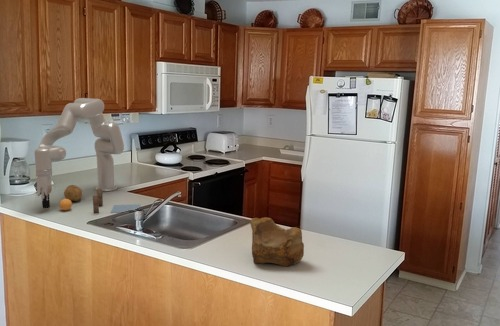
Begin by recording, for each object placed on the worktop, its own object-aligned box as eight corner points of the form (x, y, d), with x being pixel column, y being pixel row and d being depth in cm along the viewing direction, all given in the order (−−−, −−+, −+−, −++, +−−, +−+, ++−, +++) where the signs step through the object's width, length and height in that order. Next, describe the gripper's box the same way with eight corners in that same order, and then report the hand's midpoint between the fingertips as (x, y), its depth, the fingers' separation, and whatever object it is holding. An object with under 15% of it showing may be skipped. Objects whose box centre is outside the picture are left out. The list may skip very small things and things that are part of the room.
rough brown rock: (232, 261, 180) (231, 225, 176) (257, 246, 193) (257, 212, 189) (283, 279, 167) (283, 241, 163) (306, 261, 179) (307, 225, 175)
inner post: (98, 205, 250) (97, 188, 249) (103, 205, 251) (102, 188, 249) (97, 206, 248) (96, 190, 246) (102, 206, 248) (101, 190, 247)
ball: (61, 208, 243) (60, 197, 242) (73, 208, 244) (72, 197, 243) (58, 212, 237) (57, 200, 236) (70, 211, 238) (70, 200, 237)
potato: (65, 204, 251) (64, 190, 249) (63, 198, 263) (62, 184, 261) (84, 202, 255) (84, 188, 253) (81, 196, 267) (80, 183, 266)
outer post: (94, 212, 238) (93, 195, 236) (99, 212, 238) (98, 195, 236) (93, 213, 235) (92, 196, 233) (98, 213, 236) (97, 196, 234)
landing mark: (114, 205, 251) (114, 205, 251) (140, 204, 253) (140, 204, 253) (110, 212, 237) (110, 212, 237) (138, 212, 239) (138, 211, 239)
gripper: (40, 169, 242) (42, 204, 245) (31, 175, 227) (34, 212, 231) (55, 169, 243) (57, 203, 246) (47, 175, 229) (50, 211, 232)
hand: (46, 207), depth 239 cm, fingers closed
